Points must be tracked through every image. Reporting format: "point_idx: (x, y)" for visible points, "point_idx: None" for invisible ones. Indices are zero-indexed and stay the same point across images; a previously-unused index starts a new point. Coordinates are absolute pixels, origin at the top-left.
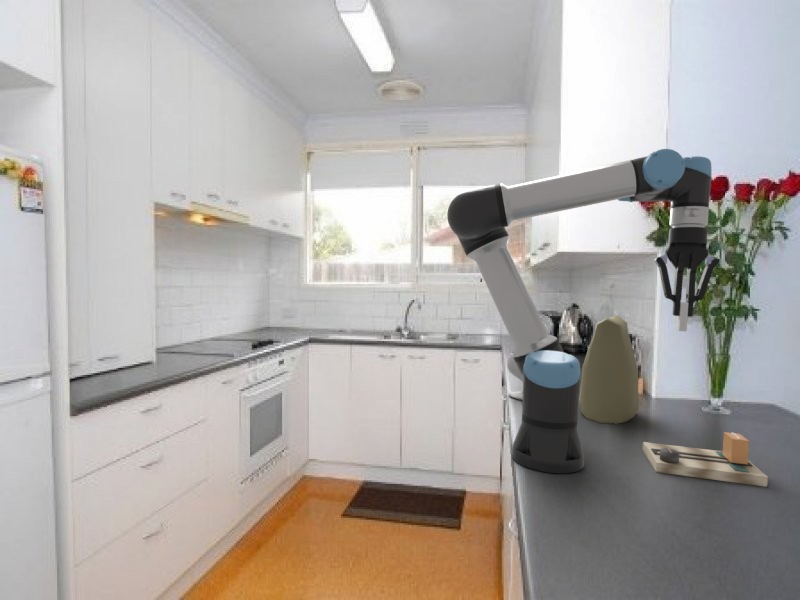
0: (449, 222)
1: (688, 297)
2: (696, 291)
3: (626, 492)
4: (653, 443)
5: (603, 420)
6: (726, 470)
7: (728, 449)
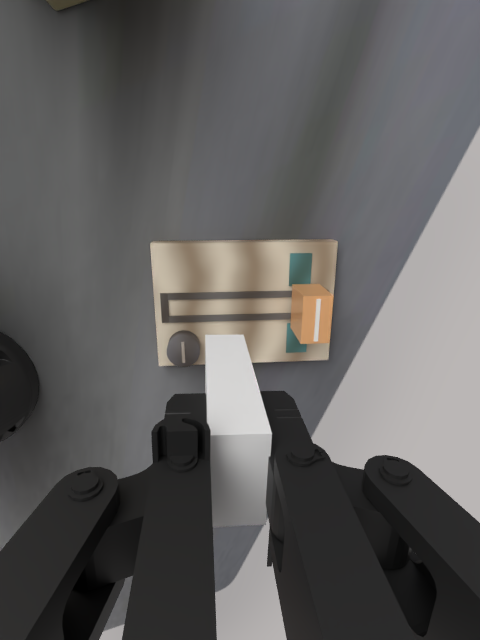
0: None
1: (273, 562)
2: (412, 530)
3: (107, 455)
4: (171, 246)
5: (61, 5)
6: (271, 357)
7: (295, 318)
